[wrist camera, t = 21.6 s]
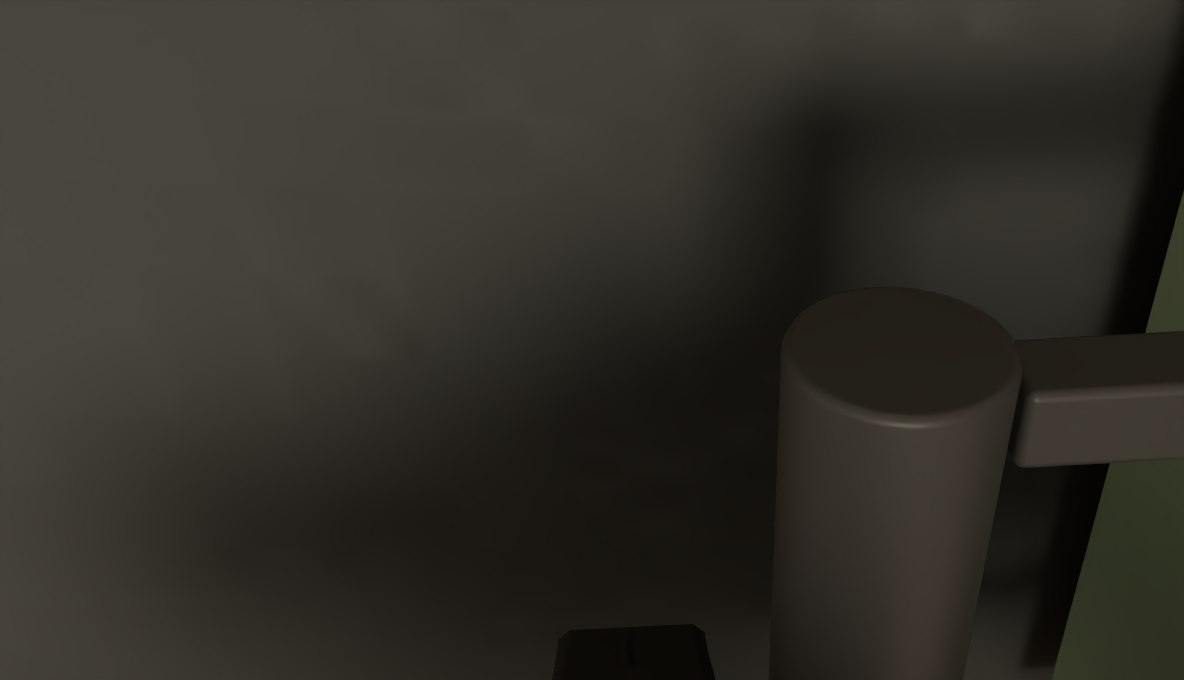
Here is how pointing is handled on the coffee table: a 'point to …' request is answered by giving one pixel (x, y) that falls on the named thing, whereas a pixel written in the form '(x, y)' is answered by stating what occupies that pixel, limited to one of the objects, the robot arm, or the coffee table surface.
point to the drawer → (970, 482)
